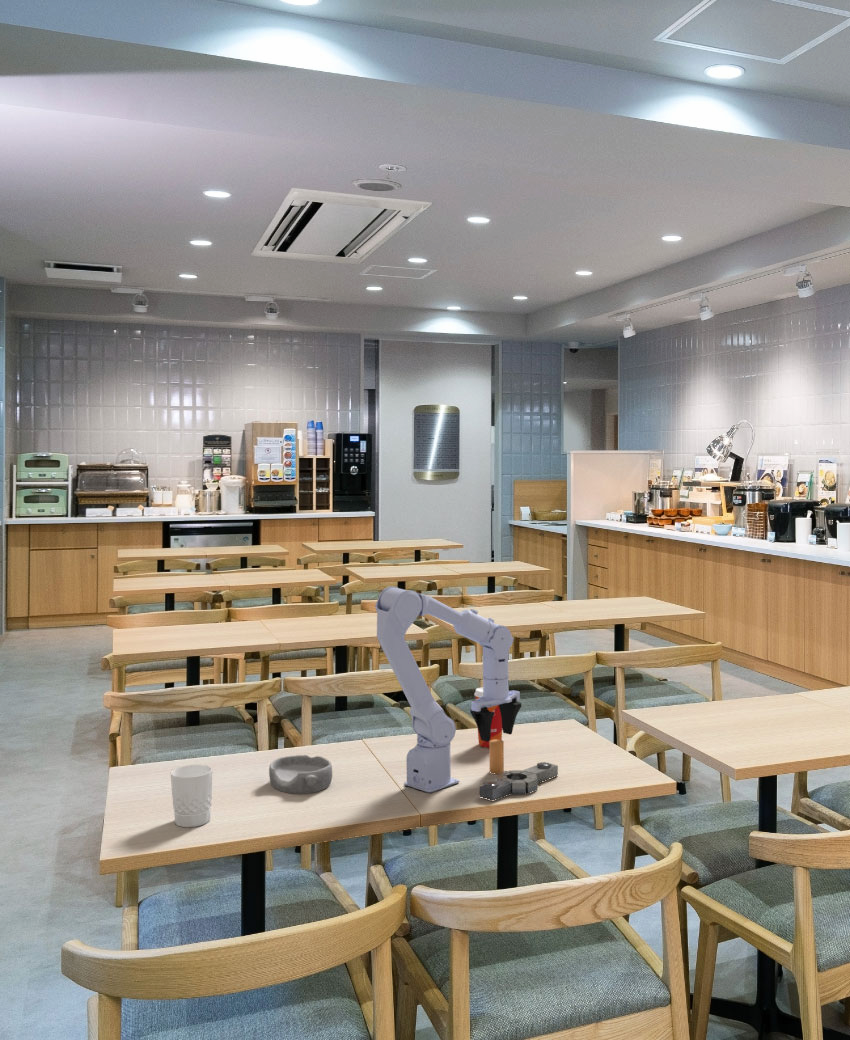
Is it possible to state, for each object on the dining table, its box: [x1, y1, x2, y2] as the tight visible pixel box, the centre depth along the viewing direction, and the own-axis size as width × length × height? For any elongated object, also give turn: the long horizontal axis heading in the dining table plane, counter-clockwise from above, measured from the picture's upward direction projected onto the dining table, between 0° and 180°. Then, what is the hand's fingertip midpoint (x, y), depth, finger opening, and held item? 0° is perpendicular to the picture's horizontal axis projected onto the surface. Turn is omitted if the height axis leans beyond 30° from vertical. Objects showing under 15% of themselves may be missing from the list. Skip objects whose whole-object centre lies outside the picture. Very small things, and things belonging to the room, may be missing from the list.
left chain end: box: [478, 779, 538, 800], centre depth 193 cm, size 14×8×3 cm, turn 135°
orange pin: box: [488, 740, 505, 775], centre depth 205 cm, size 3×3×7 cm
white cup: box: [170, 764, 213, 828], centre depth 178 cm, size 8×8×10 cm
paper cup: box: [473, 686, 503, 749], centre depth 226 cm, size 8×8×14 cm
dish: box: [268, 754, 333, 795], centre depth 199 cm, size 14×14×5 cm
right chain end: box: [496, 761, 559, 789], centre depth 197 cm, size 16×8×3 cm, turn 135°
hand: (496, 737), depth 205 cm, fingers open, 7 cm apart
